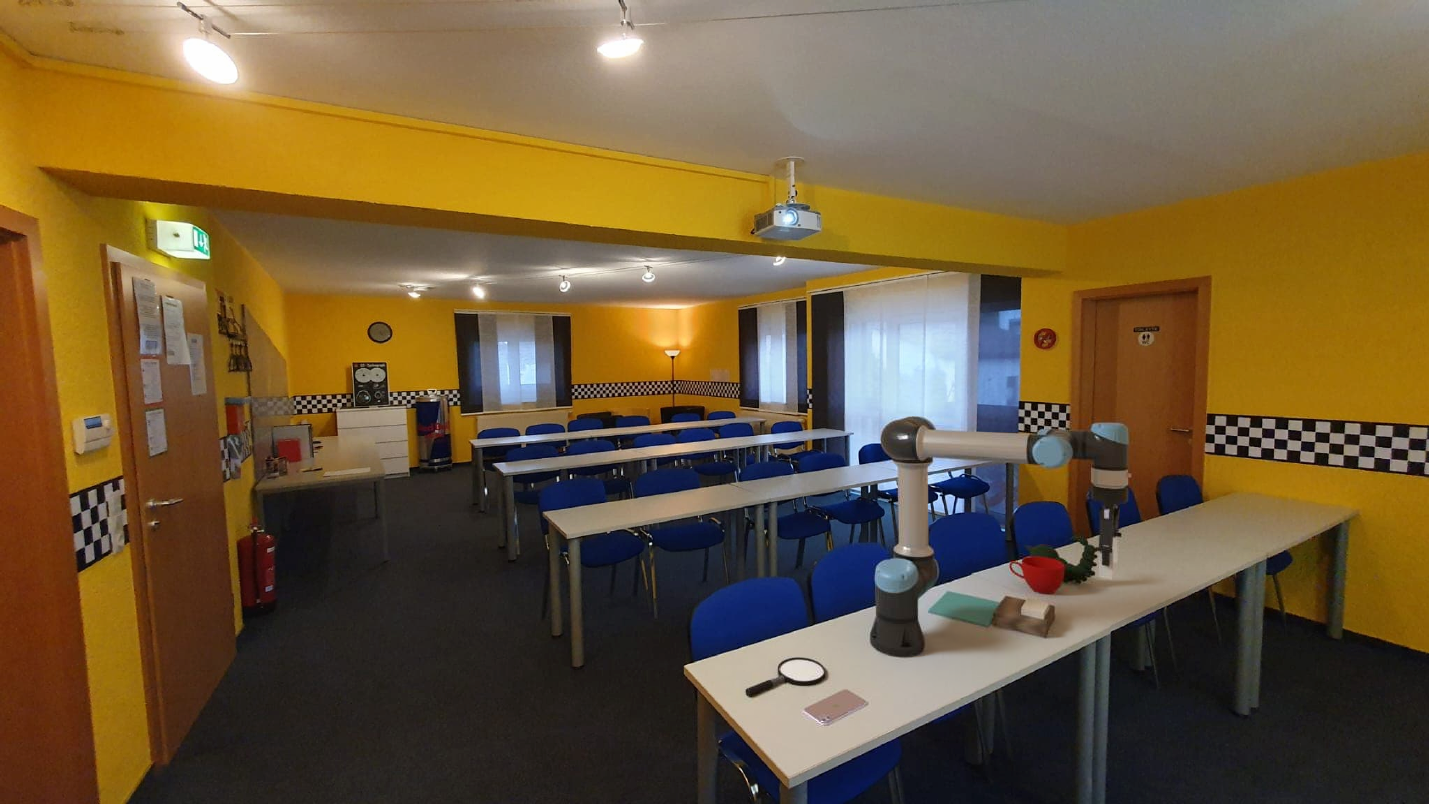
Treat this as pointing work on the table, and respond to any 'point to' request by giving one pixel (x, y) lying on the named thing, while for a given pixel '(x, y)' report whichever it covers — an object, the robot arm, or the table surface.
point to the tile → (1035, 608)
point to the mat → (965, 608)
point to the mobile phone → (834, 707)
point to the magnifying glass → (792, 675)
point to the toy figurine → (1070, 570)
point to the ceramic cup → (1041, 573)
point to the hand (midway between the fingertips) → (1108, 569)
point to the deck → (1021, 618)
